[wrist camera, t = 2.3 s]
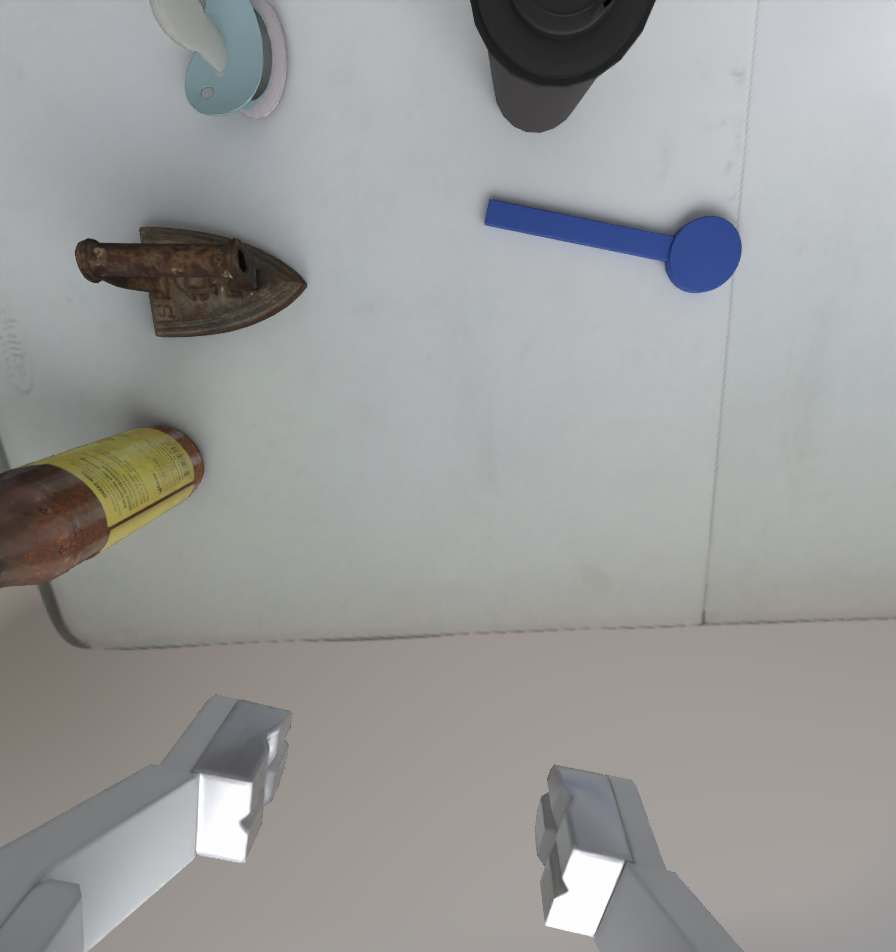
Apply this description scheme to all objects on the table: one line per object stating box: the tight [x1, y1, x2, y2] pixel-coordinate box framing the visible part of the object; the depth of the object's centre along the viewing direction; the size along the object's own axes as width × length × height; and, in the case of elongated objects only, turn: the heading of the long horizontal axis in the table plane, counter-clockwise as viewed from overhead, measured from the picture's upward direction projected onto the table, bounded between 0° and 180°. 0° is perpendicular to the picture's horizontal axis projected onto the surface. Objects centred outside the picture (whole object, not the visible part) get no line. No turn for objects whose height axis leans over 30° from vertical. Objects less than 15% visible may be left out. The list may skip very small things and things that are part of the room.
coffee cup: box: [470, 0, 656, 133], centre depth 24 cm, size 8×8×10 cm
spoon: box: [485, 199, 742, 293], centre depth 30 cm, size 16×4×1 cm, turn 79°
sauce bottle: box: [0, 425, 204, 588], centre depth 28 cm, size 6×6×20 cm
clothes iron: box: [75, 227, 307, 337], centre depth 30 cm, size 7×11×10 cm, turn 91°
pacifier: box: [150, 0, 287, 119], centre depth 26 cm, size 7×6×6 cm
